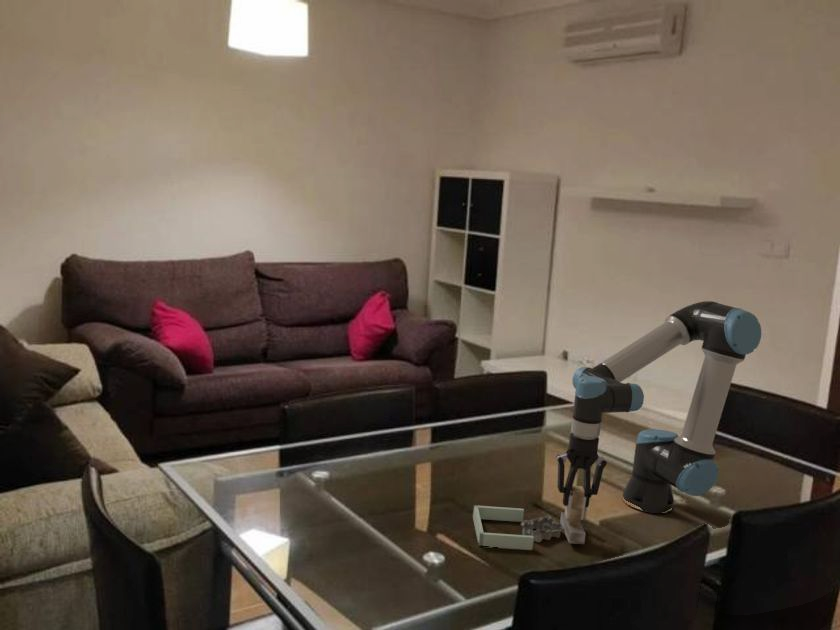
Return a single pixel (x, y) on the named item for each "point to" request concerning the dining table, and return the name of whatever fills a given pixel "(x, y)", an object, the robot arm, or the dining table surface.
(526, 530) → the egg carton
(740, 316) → the robot arm
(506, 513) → the box
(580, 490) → the scraper
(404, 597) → the dining table surface
